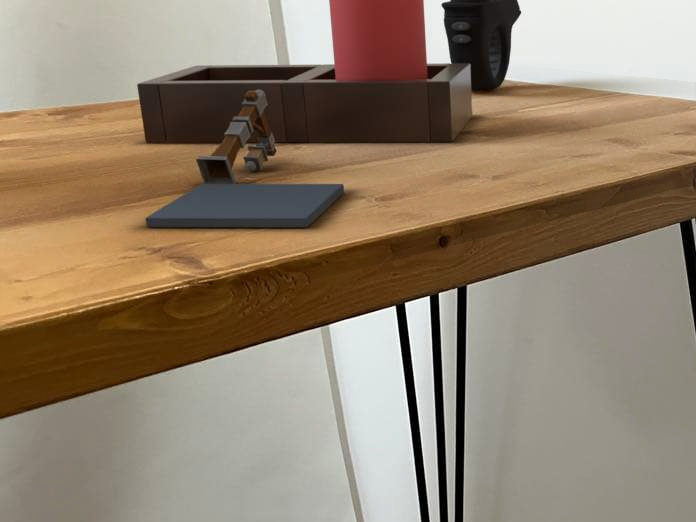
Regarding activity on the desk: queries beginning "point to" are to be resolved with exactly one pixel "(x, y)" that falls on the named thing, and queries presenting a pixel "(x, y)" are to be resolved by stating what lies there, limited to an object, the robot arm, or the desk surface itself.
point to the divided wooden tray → (307, 104)
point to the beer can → (378, 39)
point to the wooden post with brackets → (240, 143)
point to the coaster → (248, 206)
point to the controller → (481, 38)
